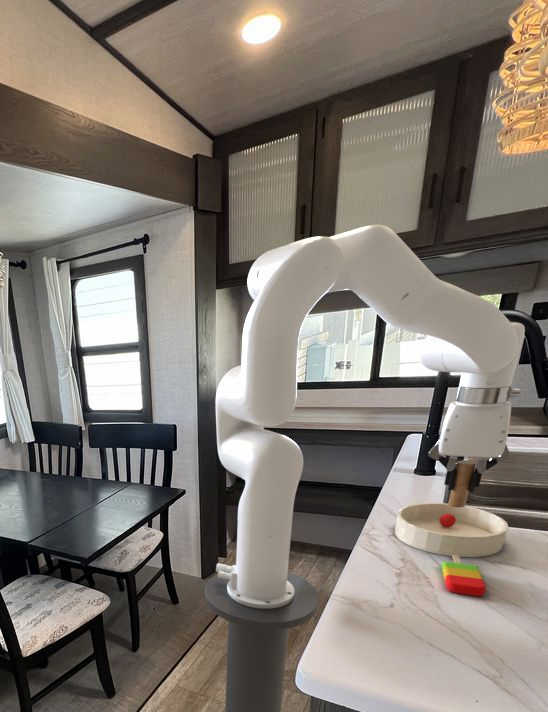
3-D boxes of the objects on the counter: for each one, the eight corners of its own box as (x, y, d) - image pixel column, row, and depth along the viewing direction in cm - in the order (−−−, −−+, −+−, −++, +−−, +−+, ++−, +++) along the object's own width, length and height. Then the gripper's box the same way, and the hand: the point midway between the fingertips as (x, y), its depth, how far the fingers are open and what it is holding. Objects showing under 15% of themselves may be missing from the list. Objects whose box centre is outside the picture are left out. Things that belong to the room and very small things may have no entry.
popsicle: (446, 592, 83) (448, 583, 83) (437, 556, 95) (439, 548, 95) (485, 598, 81) (488, 588, 80) (471, 560, 93) (473, 552, 92)
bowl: (391, 547, 100) (395, 528, 99) (397, 516, 115) (400, 499, 113) (506, 564, 90) (513, 543, 88) (497, 527, 105) (503, 509, 103)
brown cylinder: (448, 506, 95) (457, 463, 92) (448, 502, 97) (457, 460, 94) (465, 508, 94) (475, 464, 90) (464, 503, 96) (475, 461, 92)
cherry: (438, 527, 106) (440, 515, 104) (438, 523, 108) (440, 511, 107) (454, 530, 104) (457, 517, 103) (454, 525, 106) (457, 512, 105)
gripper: (537, 392, 85) (510, 487, 93) (429, 393, 94) (413, 480, 101) (544, 399, 80) (514, 500, 87) (428, 399, 88) (411, 491, 96)
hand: (460, 488), depth 94 cm, fingers closed on brown cylinder, 2 cm apart
